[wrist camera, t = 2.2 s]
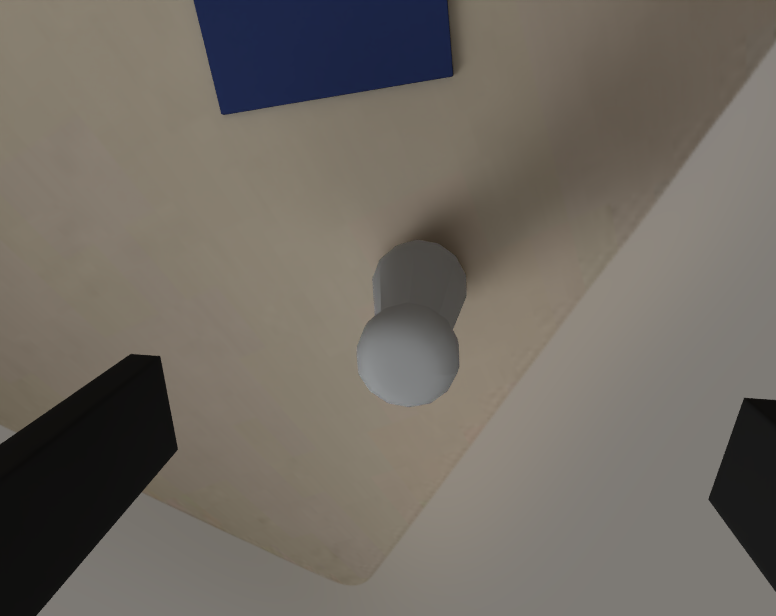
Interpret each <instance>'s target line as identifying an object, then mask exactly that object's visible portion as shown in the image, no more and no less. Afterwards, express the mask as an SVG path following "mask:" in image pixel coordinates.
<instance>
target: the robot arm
mask: <svg viewBox="0 0 776 616" xmlns="http://www.w3.org/2000/svg"><path fill="white" fill-rule="evenodd" d="M177 450H178V447H177V442H176V437H175V432H174V426H173V421H172V416H171V411H170V405H169V400H168V395H167V389H166V384H165V379H164V374H163V368H162V363H161V358H160V356H151V355H136V354H130V355H129V356H127V357H126V358H124V359H123V360H121V361H120V362H118V363H117V364H116V365H114V366H113V367H111V368H110V369H108V370H107V371H105V372H104V373H103V374H101V375H100V376H98V377H97V378H95V379H94V380H92V381H91V382H90V383H88V384H87V385H85V386H84V387H82V388H81V389H79V390H78V391H77V392H75V393H74V394H72V395H71V396H69V397H68V398H66V399H65V400H64V401H62V402H61V403H59V404H58V405H56V406H55V407H53V408H52V409H51V410H49V411H48V412H46V413H45V414H43V415H42V416H40V417H39V418H38V419H36V420H35V421H33V422H32V423H30V424H29V425H27V426H26V427H25V428H23V429H22V430H20V431H19V432H17V433H16V434H15V435H13V436H12V437H10V438H9V439H7V440H6V441H5V442H3V443H1V444H0V616H36V615H37V614H38V613H39V612H40V611H41V610H42V608H43V607H44V606H45V605H46V604H47V602H48V601H49V600H50V599H51V598H52V597H53V595H54V594H55V593H56V592H57V591H58V590H59V588H60V587H61V586H62V585H63V584H64V582H65V581H66V580H67V579H68V578H69V577H70V575H71V574H72V573H73V572H74V571H75V570H76V568H77V567H78V566H79V565H80V564H81V563H82V561H83V560H84V559H85V558H86V557H87V556H88V554H89V553H90V552H91V551H92V550H93V549H94V547H95V546H96V545H97V544H98V543H99V541H100V540H101V539H102V538H103V537H104V536H105V534H106V533H107V532H108V531H109V530H110V529H111V527H112V526H113V525H114V524H115V523H116V522H117V520H118V519H119V518H120V517H121V516H122V514H123V513H124V512H125V511H126V510H127V509H128V507H129V506H130V505H131V504H132V503H133V502H134V500H135V499H136V498H137V497H138V496H139V495H140V493H141V492H142V491H143V490H144V489H145V487H146V486H147V485H148V484H149V483H150V482H151V480H152V479H153V478H154V477H155V476H156V475H157V473H158V472H159V471H160V470H161V469H162V468H163V466H164V465H165V464H166V463H167V462H168V460H169V459H170V458H171V457H172V456H173V455H174V453H175V452H176V451H177ZM709 501H710V502H711V504H712V505H713V506H714V508H715V509H716V510H717V512H718V513H719V515H720V516H721V517H722V519H723V520H724V521H725V523H726V524H727V526H728V527H729V528H730V529H731V531H732V532H733V534H734V535H735V536H736V538H737V539H738V541H739V542H740V543H741V545H742V546H743V547H744V549H745V550H746V552H747V553H748V554H749V556H750V557H751V558H752V560H753V561H754V563H755V564H756V565H757V567H758V568H759V569H760V571H761V572H762V574H763V575H764V576H765V578H766V579H767V580H768V582H769V583H770V584H771V586H772V587H773V588H774V590H775V591H776V400H767V399H753V398H744V400H743V403H742V405H741V409H740V411H739V414H738V417H737V420H736V422H735V425H734V428H733V431H732V434H731V437H730V440H729V443H728V445H727V448H726V451H725V454H724V456H723V459H722V462H721V465H720V468H719V471H718V473H717V476H716V479H715V482H714V485H713V488H712V491H711V493H710V496H709Z"/></svg>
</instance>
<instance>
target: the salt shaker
mask: <svg viewBox="0 0 776 616" xmlns="http://www.w3.org/2000/svg"><path fill="white" fill-rule="evenodd" d="M372 281H373V295H374V310H375V316H374V317H373V318H372V319H371V320H369V321H368V323H367V324H366V326H365V328H364V330H363V333H362V335H361V338H360V340H359V343H358V345H357V362H358V372H359V375H360V377H361V378H362V380H363V381H364V383H365V384H366V386H367V387H368V389H369V390H370V391H371V392H372V393H374V394H375V395H377V396H378V397H380V398H381V399H383V400H384V401H386V402H387V403H390V404H395V405H401V406H406V407H413V406H418V405H423V404H429V403H432V402H433V401H434V400H436V399H437V398H438V397H440V396H441V395H443V394H444V393H445V392H447V391H448V389H449V387H450V385H451V383H452V382H453V380H454V378H455V376H456V374H457V372H458V369H459V344H458V339H457V337H456V335H455V333H454V331H453V328H454V325H455V323H456V320H457V318H458V315H459V313H460V311H461V308H462V306H463V303H464V301H465V298H466V274H465V273H464V271H463V269H462V267H461V265H460V263H459V261H458V259H457V257H456V256H455V255H454V254H452V253H451V252H450V251H448V250H447V249H445V248H444V247H443V246H441V245H440V244H438V243H434V242H428V241H423V240H414V241H410V242H407V243H403V244H400V245H397V246H395V247H394V248H393V249H392V250H391V251H389V252H388V253H387V254H386V255H385V256H384V257H382V258H381V259H380V260H379V263H378V265H377V268H376V271H375V273H374V276H373V279H372Z"/></svg>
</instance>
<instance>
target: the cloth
mask: <svg viewBox="0 0 776 616" xmlns="http://www.w3.org/2000/svg"><path fill="white" fill-rule="evenodd" d="M194 4H195V8H196V12H197V16H198V20H199V24H200V28H201V32H202V36H203V40H204V45H205V49H206V53H207V57H208V61H209V65H210V69H211V73H212V77H213V81H214V85H215V90H216V94H217V98H218V102H219V106H220V110H221V114H223V115H226V114H232V113H238V112H244V111H250V110H256V109H261V108H267V107H273V106H279V105H285V104H291V103H297V102H303V101H309V100H315V99H321V98H327V97H333V96H339V95H345V94H351V93H357V92H363V91H369V90H375V89H380V88H386V87H392V86H398V85H404V84H410V83H416V82H422V81H428V80H434V79H440V78H446V77H452V76H453V66H452V54H451V41H450V28H449V15H448V2H447V0H194Z"/></svg>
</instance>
